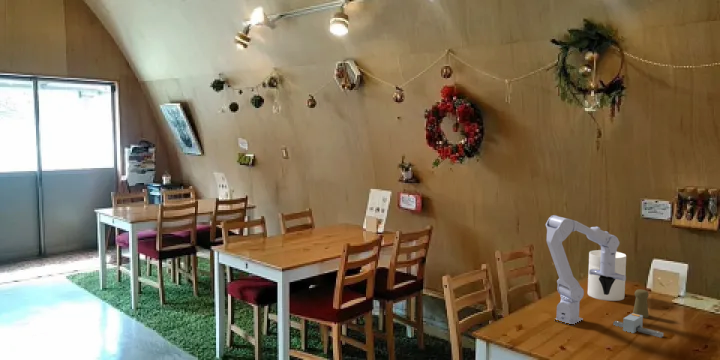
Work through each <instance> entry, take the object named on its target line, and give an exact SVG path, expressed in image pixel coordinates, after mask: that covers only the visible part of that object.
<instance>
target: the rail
mask: <svg viewBox="0 0 720 360" xmlns="http://www.w3.org/2000/svg"><path fill="white" fill-rule="evenodd" d="M614 325H615V327H618V326H619V328H622V327H623V321H618V320H615V321H613V326H614ZM637 331H638V333H641V334H642V333H643V334H646V335H650V336H654V337H656V338H663V337H664V332H662V331H658V330H654V329H651V328H645V327H643V326H642V327H639V326H638V327H636V332H637Z"/></svg>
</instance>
